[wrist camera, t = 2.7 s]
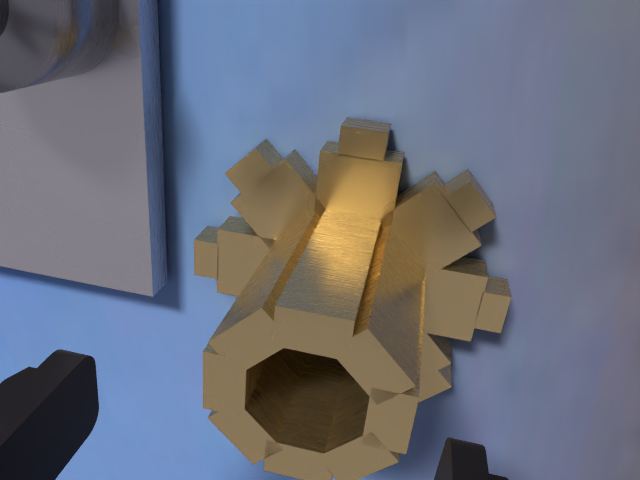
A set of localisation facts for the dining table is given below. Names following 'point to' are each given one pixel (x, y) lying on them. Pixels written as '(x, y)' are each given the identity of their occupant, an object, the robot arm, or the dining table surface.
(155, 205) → the plate
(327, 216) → the planet gear
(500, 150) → the dining table surface
